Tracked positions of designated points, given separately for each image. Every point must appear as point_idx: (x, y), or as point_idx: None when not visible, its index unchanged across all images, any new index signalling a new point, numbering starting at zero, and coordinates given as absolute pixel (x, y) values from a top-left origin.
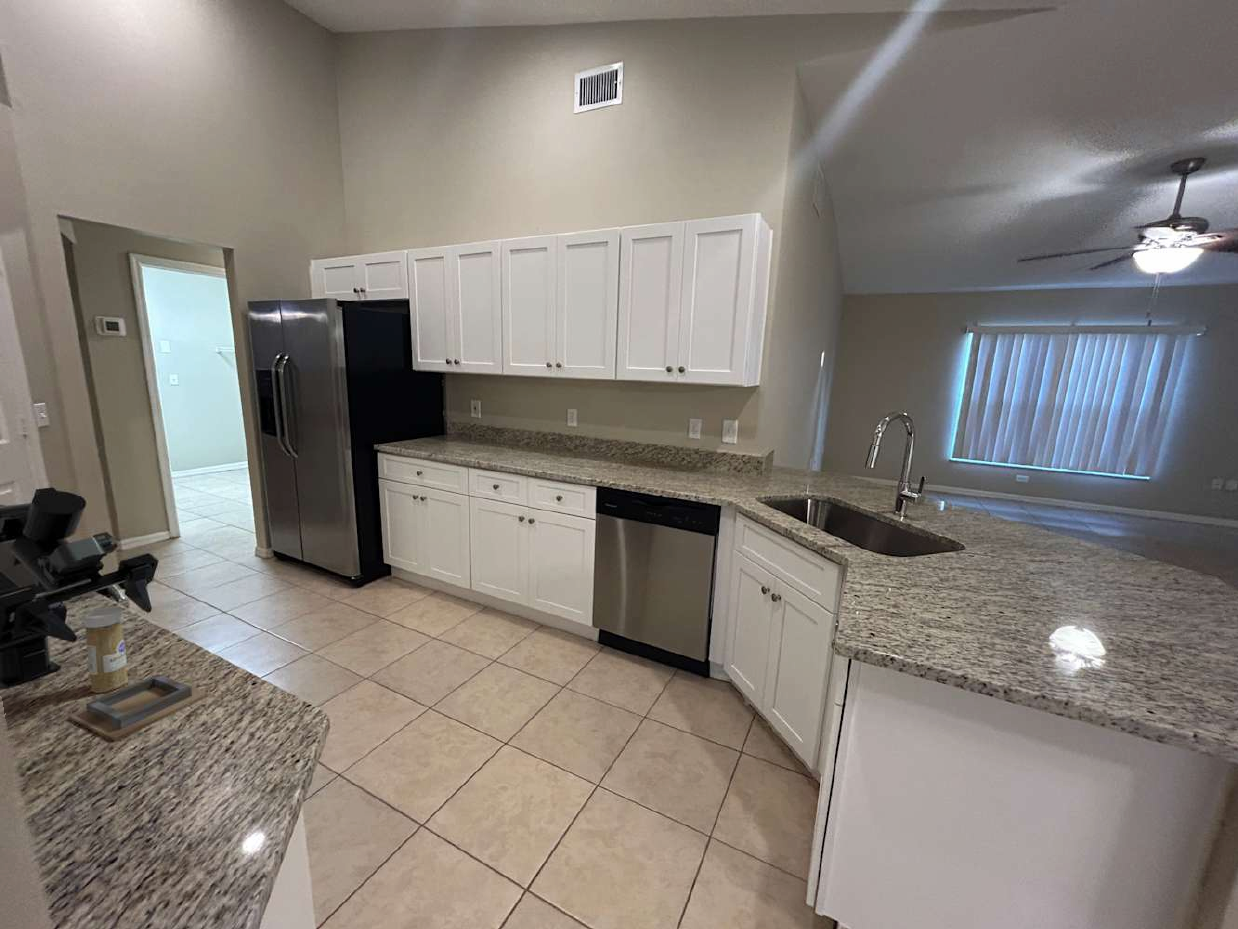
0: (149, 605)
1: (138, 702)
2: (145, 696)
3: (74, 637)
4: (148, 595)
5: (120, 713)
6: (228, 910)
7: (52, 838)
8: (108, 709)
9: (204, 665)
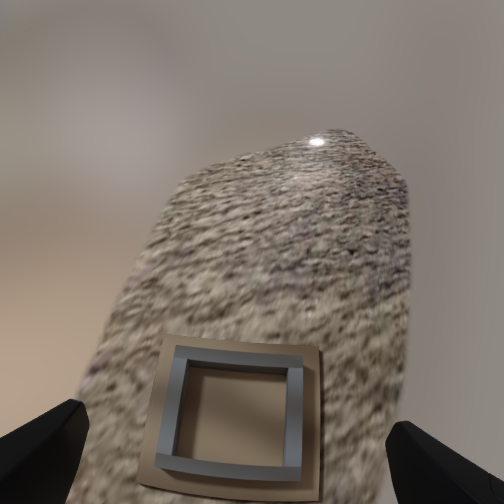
0: (64, 408)
1: (231, 429)
2: (210, 438)
3: (405, 421)
4: (10, 432)
5: (291, 379)
6: (347, 131)
7: (407, 241)
8: (293, 415)
9: None
